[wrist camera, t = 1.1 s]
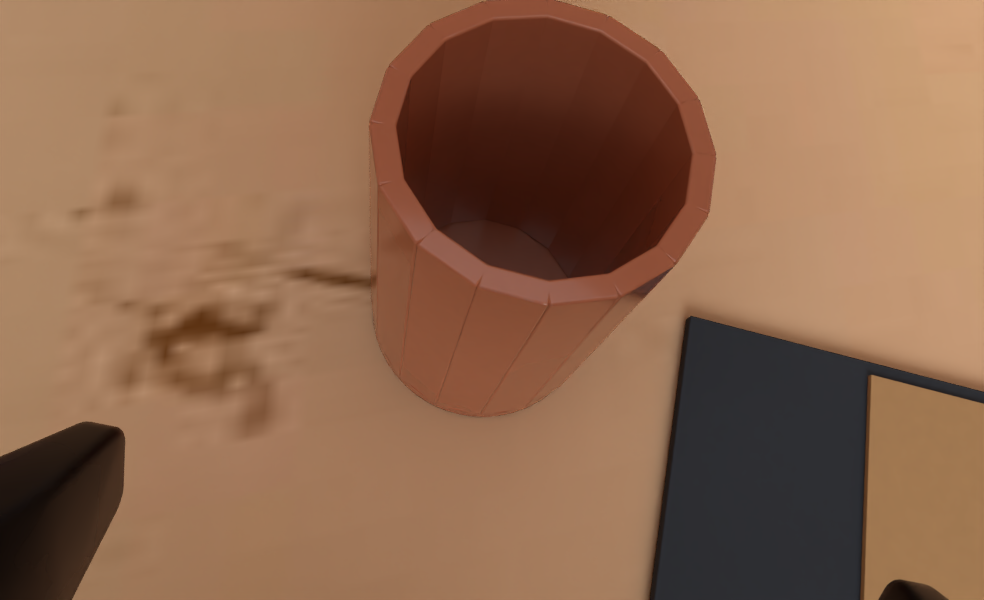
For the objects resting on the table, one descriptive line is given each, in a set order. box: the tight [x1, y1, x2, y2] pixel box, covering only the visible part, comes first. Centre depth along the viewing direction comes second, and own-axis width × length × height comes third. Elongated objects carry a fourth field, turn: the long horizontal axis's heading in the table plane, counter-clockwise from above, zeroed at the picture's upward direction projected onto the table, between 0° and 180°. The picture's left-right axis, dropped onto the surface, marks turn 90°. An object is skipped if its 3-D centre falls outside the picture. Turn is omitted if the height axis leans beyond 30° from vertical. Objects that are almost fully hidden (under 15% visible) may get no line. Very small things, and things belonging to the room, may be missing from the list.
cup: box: [369, 0, 716, 417], centre depth 19 cm, size 7×7×10 cm
